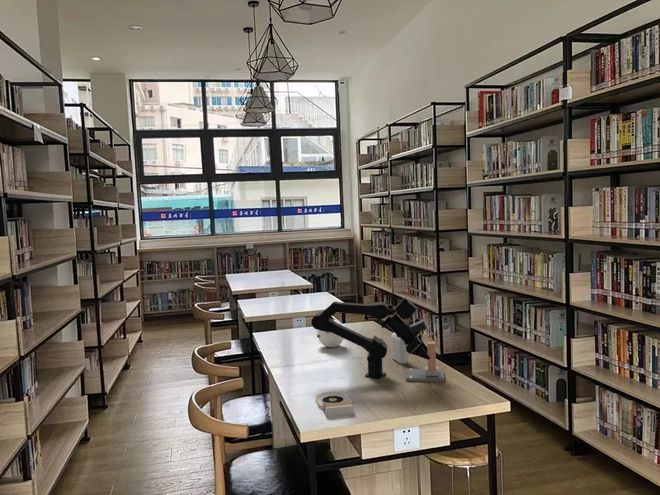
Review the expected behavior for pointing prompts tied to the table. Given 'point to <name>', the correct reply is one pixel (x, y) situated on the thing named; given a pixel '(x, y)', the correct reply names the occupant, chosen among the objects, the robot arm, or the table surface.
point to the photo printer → (399, 349)
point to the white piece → (329, 338)
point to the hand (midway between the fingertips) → (429, 355)
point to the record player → (335, 403)
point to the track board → (423, 376)
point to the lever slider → (431, 361)
